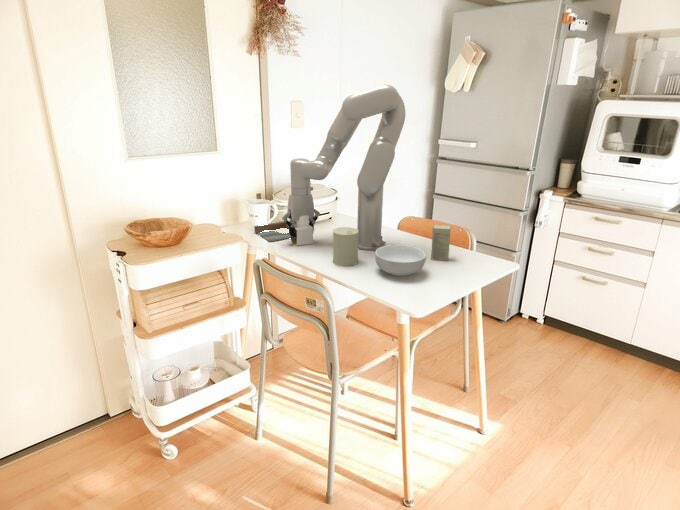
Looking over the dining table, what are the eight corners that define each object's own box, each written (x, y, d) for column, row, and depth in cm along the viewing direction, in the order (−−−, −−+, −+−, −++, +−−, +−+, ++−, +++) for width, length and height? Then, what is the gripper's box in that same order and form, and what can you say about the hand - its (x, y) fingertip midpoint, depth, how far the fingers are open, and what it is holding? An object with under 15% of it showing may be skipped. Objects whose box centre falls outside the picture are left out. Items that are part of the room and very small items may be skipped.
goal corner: (303, 236, 186) (303, 229, 185) (269, 242, 178) (269, 235, 177) (287, 227, 198) (286, 220, 197) (254, 232, 190) (254, 226, 189)
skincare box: (448, 257, 163) (451, 225, 159) (448, 261, 159) (451, 229, 155) (431, 255, 165) (433, 224, 161) (430, 259, 161) (432, 227, 157)
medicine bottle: (290, 241, 180) (289, 212, 176) (307, 239, 183) (306, 210, 179) (296, 246, 174) (295, 216, 170) (313, 244, 177) (313, 215, 172)
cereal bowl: (364, 272, 149) (365, 252, 147) (393, 259, 161) (394, 241, 158) (406, 286, 139) (407, 265, 136) (433, 271, 150) (435, 252, 148)
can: (342, 268, 153) (343, 235, 148) (327, 260, 160) (327, 228, 155) (363, 262, 158) (364, 230, 154) (347, 255, 165) (348, 224, 161)
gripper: (315, 187, 178) (315, 228, 184) (276, 192, 169) (278, 235, 175) (324, 190, 173) (325, 233, 179) (285, 195, 164) (286, 240, 170)
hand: (301, 234), depth 177 cm, fingers closed on medicine bottle, 7 cm apart
